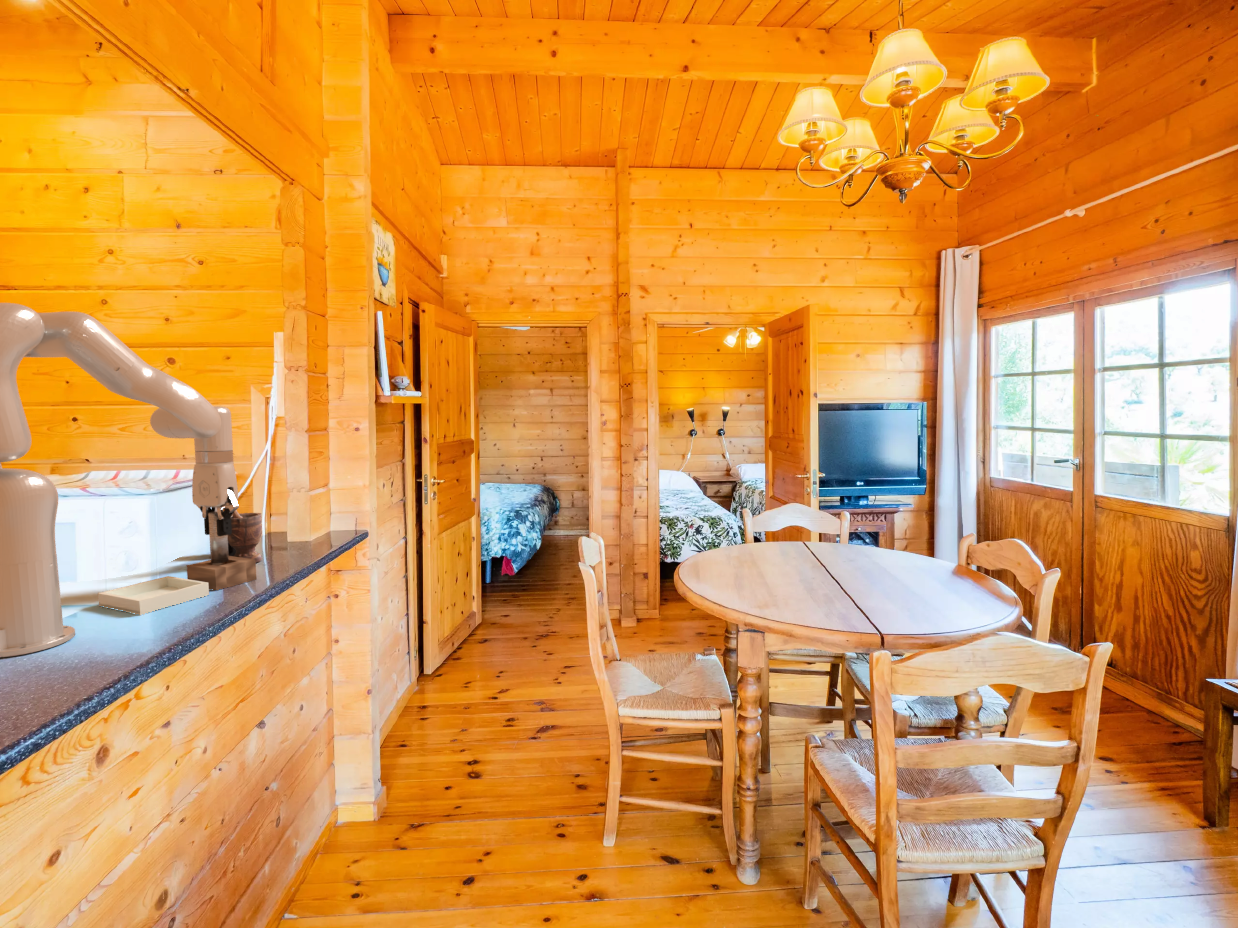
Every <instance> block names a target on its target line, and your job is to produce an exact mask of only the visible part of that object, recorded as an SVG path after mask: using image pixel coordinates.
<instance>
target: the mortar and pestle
mask: <svg viewBox="0 0 1238 928" xmlns="http://www.w3.org/2000/svg"><path fill="white" fill-rule="evenodd" d="M224 505H225V504H222V505H221V506H224ZM222 509H223V511H224V510H225V509H226V508H222ZM262 523H263V521H262V513H261V512H244V513H242V512H241V513H240V512H238V509H237V510H235V511H234V513H233V517H232V518H231V526H232V534H230V535H228V541H229V544H230V545H231V546H232V547H234V548H235V549H236V554H235V555H234V556H233V557H241V558H248V559H255V561H256V563H260V562H262V561H263V556H262V554H261V553H259V552H258V551H256V547H257V545H259V544H260V542H261V539H262V538H261V537H262V533H263V524H262Z"/></svg>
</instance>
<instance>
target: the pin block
mask: <svg viewBox="0 0 1238 928" xmlns="http://www.w3.org/2000/svg"><path fill="white" fill-rule="evenodd" d="M186 576H187V577H186V579H189V580H196V581H202V582H208V585H209V589H213V590H212V591H215V590H217V591H220V590H219V589H221V590H223V588H224V589H227V587H228V588H231V587H234V586H238V585H241V584H244V583H248V582H252V581H255V580H257V565H256V561H255V559H248V558H241V557H233V556H229V561H227V562H223V563H211V559H208V560H203V561H199V562H195V563H192V564H187V565H186Z"/></svg>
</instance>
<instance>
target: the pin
mask: <svg viewBox="0 0 1238 928" xmlns="http://www.w3.org/2000/svg"><path fill="white" fill-rule="evenodd" d="M208 517H209V535H208V536H209V551H210V552H209V553H210V560H211V563H223V562H227V561H229V555H228V535H224V536H218V535H217V521H216V520H218V519H219V518H218V512H217V511H215V512H209V513H208Z"/></svg>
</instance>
